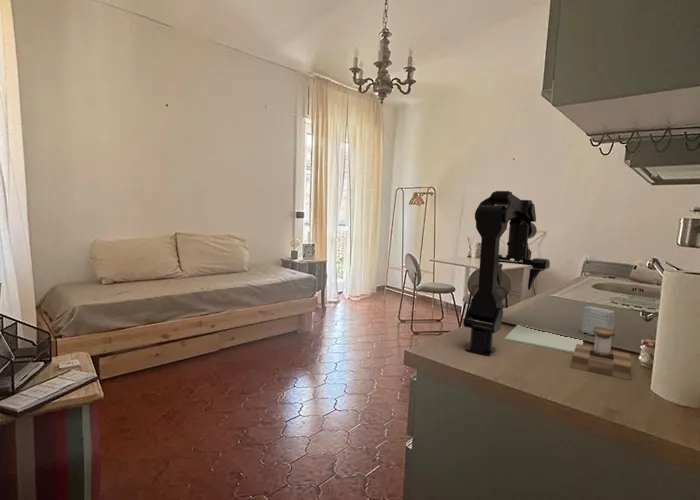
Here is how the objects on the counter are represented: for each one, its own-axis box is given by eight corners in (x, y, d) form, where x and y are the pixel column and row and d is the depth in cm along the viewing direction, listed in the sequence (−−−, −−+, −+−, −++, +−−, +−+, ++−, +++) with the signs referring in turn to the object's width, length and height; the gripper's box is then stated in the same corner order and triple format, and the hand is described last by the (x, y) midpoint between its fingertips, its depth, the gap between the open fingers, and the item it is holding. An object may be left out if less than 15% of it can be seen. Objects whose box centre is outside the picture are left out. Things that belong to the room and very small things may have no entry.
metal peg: (611, 371, 100) (615, 333, 99) (589, 366, 103) (593, 330, 102) (611, 365, 104) (615, 329, 103) (590, 361, 107) (594, 326, 106)
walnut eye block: (629, 379, 95) (631, 367, 95) (571, 367, 102) (572, 356, 101) (628, 364, 105) (629, 353, 105) (575, 354, 112) (576, 343, 112)
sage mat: (580, 354, 112) (580, 352, 112) (504, 339, 123) (504, 338, 123) (584, 337, 129) (584, 335, 129) (517, 325, 140) (517, 324, 140)
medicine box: (612, 337, 129) (615, 311, 129) (606, 340, 127) (609, 312, 126) (586, 331, 136) (589, 305, 135) (580, 333, 133) (582, 307, 132)
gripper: (555, 241, 130) (551, 289, 132) (497, 237, 142) (493, 281, 143) (547, 241, 122) (542, 293, 123) (485, 237, 133) (482, 284, 135)
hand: (514, 287), depth 131 cm, fingers open, 9 cm apart
